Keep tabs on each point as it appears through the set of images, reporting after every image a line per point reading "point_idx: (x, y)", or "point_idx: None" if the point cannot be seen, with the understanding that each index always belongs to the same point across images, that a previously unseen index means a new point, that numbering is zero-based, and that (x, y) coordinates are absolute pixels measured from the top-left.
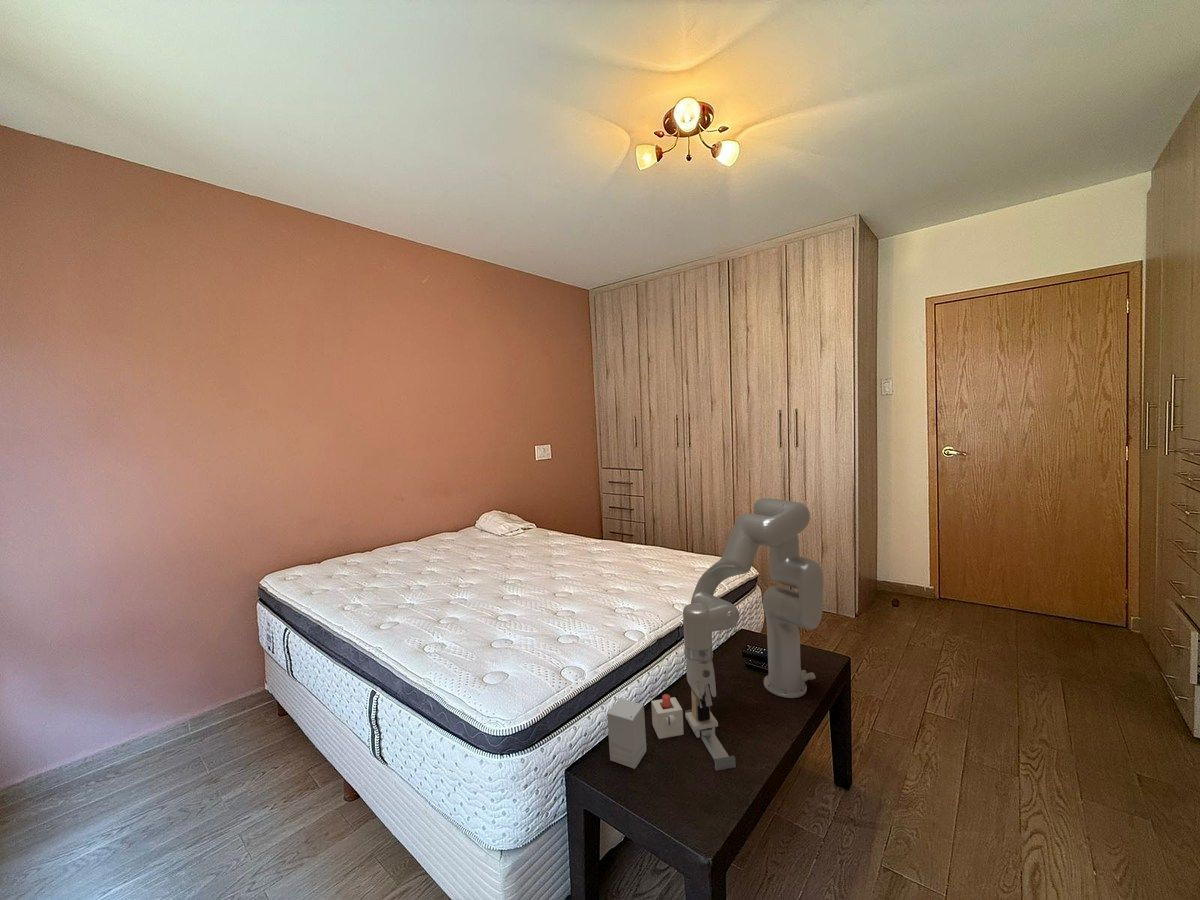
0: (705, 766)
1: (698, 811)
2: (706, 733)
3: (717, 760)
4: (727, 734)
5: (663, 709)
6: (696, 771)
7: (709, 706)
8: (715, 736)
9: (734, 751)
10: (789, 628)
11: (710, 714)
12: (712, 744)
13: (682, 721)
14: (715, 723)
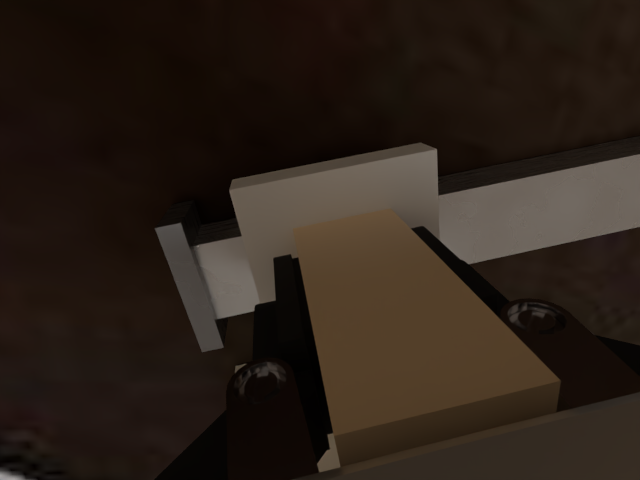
0: (607, 262)
1: None
2: (458, 240)
3: None
4: (404, 59)
5: None
6: (616, 305)
7: (547, 305)
8: (505, 186)
9: (571, 64)
10: None
11: (317, 191)
12: (567, 223)
13: None
14: (433, 170)
